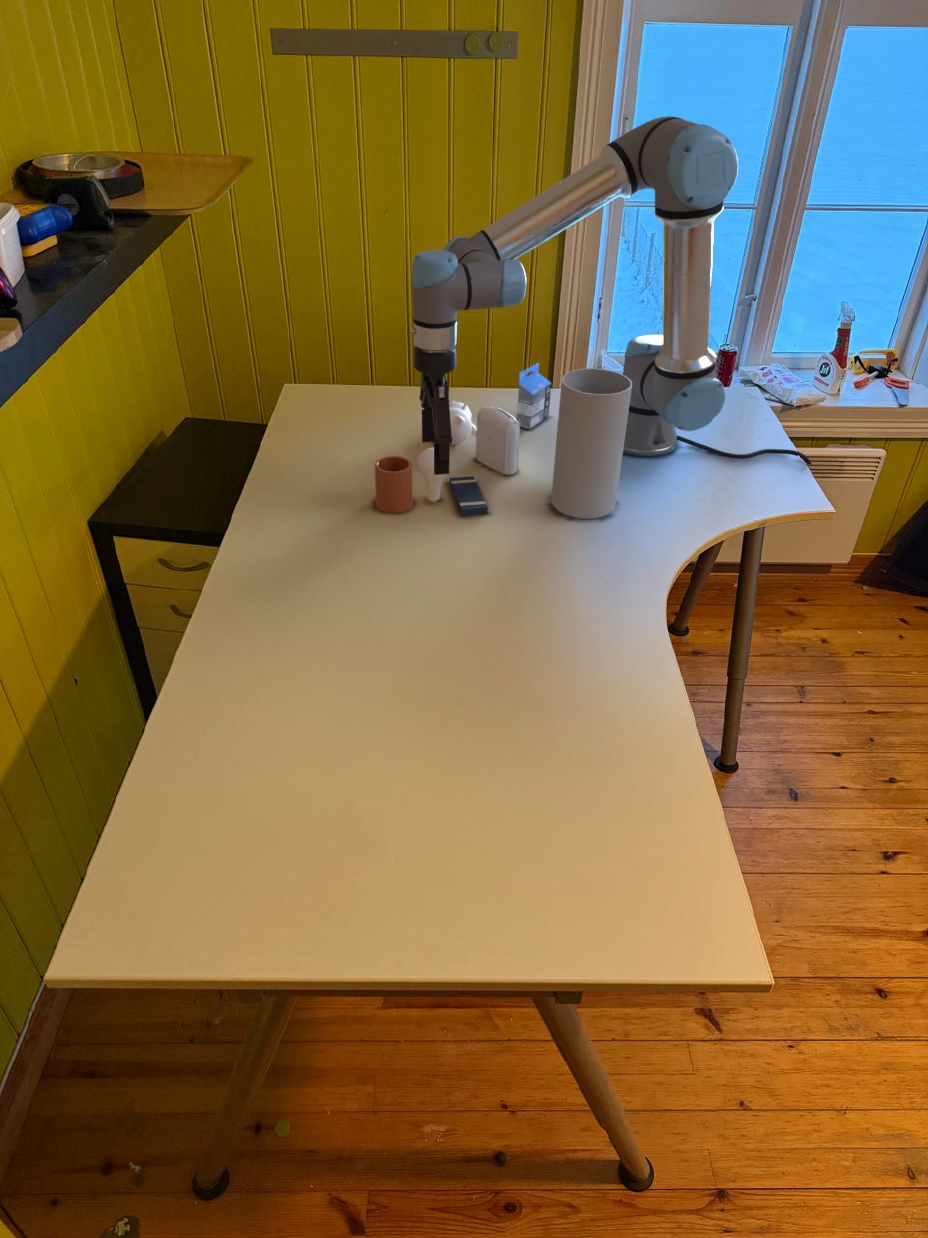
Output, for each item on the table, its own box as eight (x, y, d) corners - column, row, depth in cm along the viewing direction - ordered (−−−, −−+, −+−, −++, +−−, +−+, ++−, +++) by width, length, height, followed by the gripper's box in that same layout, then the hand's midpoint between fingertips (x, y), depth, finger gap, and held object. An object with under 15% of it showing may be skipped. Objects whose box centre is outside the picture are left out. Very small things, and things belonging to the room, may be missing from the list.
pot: (419, 501, 177) (419, 461, 172) (400, 516, 172) (399, 475, 167) (388, 492, 180) (387, 452, 175) (369, 507, 175) (367, 466, 170)
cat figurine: (453, 386, 199) (447, 406, 189) (492, 413, 202) (489, 434, 192) (431, 417, 204) (424, 438, 194) (470, 443, 206) (466, 465, 197)
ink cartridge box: (530, 430, 204) (534, 377, 197) (515, 426, 206) (518, 373, 199) (549, 417, 210) (553, 365, 203) (534, 413, 212) (538, 361, 205)
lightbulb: (454, 497, 178) (455, 446, 172) (440, 511, 174) (441, 459, 167) (426, 490, 180) (426, 439, 174) (412, 504, 176) (411, 452, 169)
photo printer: (472, 459, 192) (474, 403, 185) (488, 454, 194) (490, 398, 187) (504, 477, 186) (508, 421, 178) (520, 472, 188) (524, 415, 181)
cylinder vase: (584, 527, 170) (599, 400, 156) (537, 502, 178) (547, 378, 163) (628, 506, 177) (646, 383, 162) (580, 483, 185) (594, 363, 170)
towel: (473, 482, 184) (473, 475, 183) (487, 514, 174) (487, 507, 173) (449, 483, 183) (449, 477, 182) (461, 515, 173) (462, 509, 172)
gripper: (403, 323, 168) (405, 430, 181) (425, 373, 149) (426, 489, 161) (443, 321, 169) (443, 427, 182) (470, 371, 150) (468, 486, 162)
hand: (435, 457), depth 172 cm, fingers open, 13 cm apart
